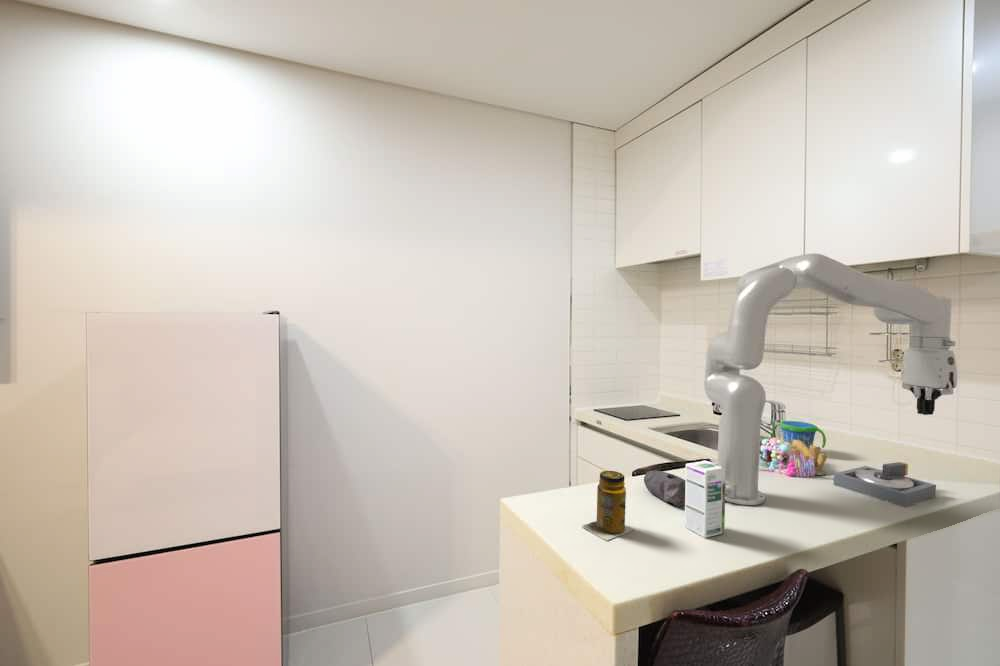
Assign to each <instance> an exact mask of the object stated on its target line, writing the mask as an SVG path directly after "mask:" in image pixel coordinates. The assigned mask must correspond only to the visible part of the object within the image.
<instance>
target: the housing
mask: <svg viewBox="0 0 1000 666" xmlns="http://www.w3.org/2000/svg"><path fill="white" fill-rule="evenodd" d="M858 470H875V471H883V469H879V468H874V467H870V466H868V465H864V466H860V467H856V468H851V469H846V470H843V471H838V472H834V473H833V486H838V487H839V488H844V489H846V490H850V491H852V492H856V493H859V494H862V495H865V496H868V497H872V498H874V499H875V498H876V499H879V500H881V501H884V502H887V503H890V504H894V505H897V506H900V507H904V508H905V507H908V506H911V505H914V504H917V503H920V502H924V501H927V500H930V499H933V498H935V497H936V493H937V485H936V484H934V483H930V482H927V481H924V480H920V479H916V478H911V477H908V476H906V475H905V476H902V477H905V478H907V479H909V480H911V481H912V482H913V483H914V484H913V488H910V489H906V490H903V491H898V490H895V489H892V488H888V487H885V486H881V485H878V484H874V483H871V482H868V481H864V480H861V479H857V478H855V473H856V471H858Z"/></svg>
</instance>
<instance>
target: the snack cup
mask: <svg viewBox="0 0 1000 666" xmlns="http://www.w3.org/2000/svg"><path fill="white" fill-rule="evenodd" d="M779 426H780V429H781V432H782V439H783V440H782V441H784V442H788V443H790V444H791V445H792V442H793V440H800V441H801V442H803V443H804V444H805V445H806V446H807V447H808V448H809V449H810V445H811V446H814V441H815V435H816V433H817V432H818V433H820V434H821V436H822V445H821V449H824V448H825V446H826V443H827V439H826V435H825V432H824V431H823V430H822V429H820V428H819V427H818V426H817V425H816V424H813V423H810V422H805V421H804V422H803V421H795V420H783V421H780V422H779V423H777V424H775V425H774V426H773V428H772V430H771V438H776V432H775V429H777V427H779ZM792 448H793V447H792Z"/></svg>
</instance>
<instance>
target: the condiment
mask: <svg viewBox="0 0 1000 666" xmlns="http://www.w3.org/2000/svg"><path fill="white" fill-rule="evenodd" d="M598 482H599V483H598V484H597V495H596V496H597V497H596V520H595V521H591V522H589V523H586V524H583V525H581V527H582V528H584V529H586V530H587V531H588V532H590V533H592V534H593V535H595V536H597V537H599V538H601V539H602V540H605V541H607V542H608V541H609V540H613V539H614V538H617V537H619V536H623V535H625V534H628V533H630V532H633V530H634V529H633V528H630V527H628V526H626V504H627V503H626V499H627V498H626V497H627V490H626V489H627V488H626V486H625V484H626V483H625V475H624V474H623V473H622V472H618V471H615V470H604V471H601V472H600V473H599V479H598Z"/></svg>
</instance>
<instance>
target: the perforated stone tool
mask: <svg viewBox="0 0 1000 666" xmlns="http://www.w3.org/2000/svg"><path fill="white" fill-rule="evenodd" d="M643 482H644V485H645V488H646V489H647V491H648V492H649V493H651V494H652V495H654V496H656V498H658V499H660V500H662V501H663V502H665V503H672V504H673V505H674V506H676V507H682V506H683V507H685V482H686V479H684V478H682V477H681V476H679V475H678V476H677V475H676V474H673V473H669V472H667V471H666V472H665V471H663V470H662V471H660V470H649V471H646V473H645V475H644V477H643Z"/></svg>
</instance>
